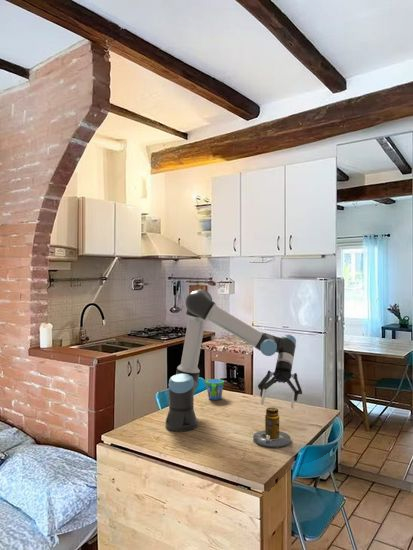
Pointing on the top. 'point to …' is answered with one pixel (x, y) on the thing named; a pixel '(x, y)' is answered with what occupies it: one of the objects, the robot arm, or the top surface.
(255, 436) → the grey round disc
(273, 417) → the condiment
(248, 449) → the top surface
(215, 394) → the snack cup
